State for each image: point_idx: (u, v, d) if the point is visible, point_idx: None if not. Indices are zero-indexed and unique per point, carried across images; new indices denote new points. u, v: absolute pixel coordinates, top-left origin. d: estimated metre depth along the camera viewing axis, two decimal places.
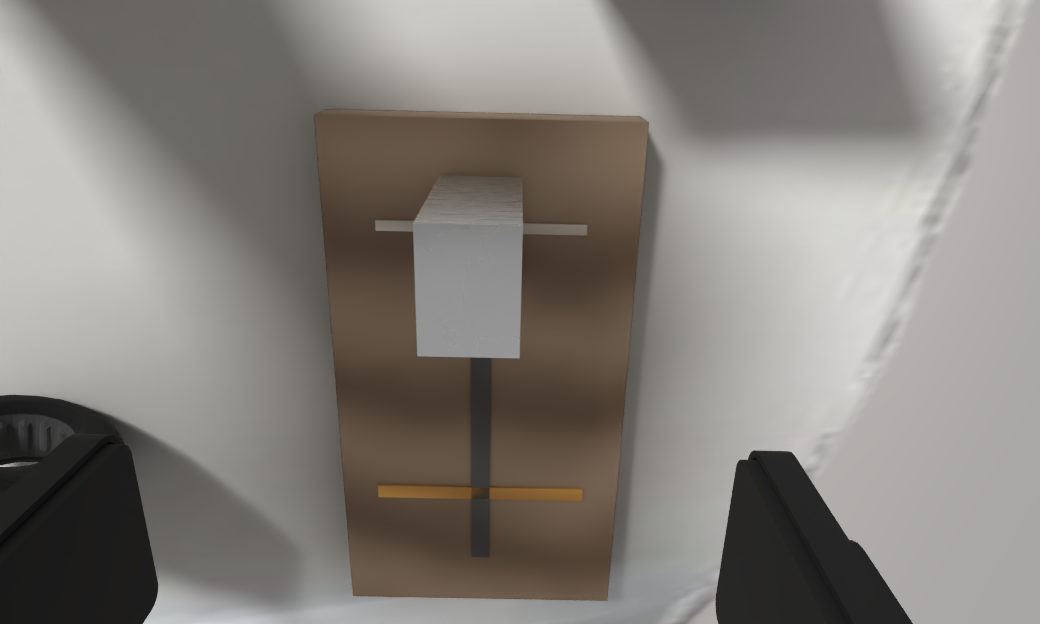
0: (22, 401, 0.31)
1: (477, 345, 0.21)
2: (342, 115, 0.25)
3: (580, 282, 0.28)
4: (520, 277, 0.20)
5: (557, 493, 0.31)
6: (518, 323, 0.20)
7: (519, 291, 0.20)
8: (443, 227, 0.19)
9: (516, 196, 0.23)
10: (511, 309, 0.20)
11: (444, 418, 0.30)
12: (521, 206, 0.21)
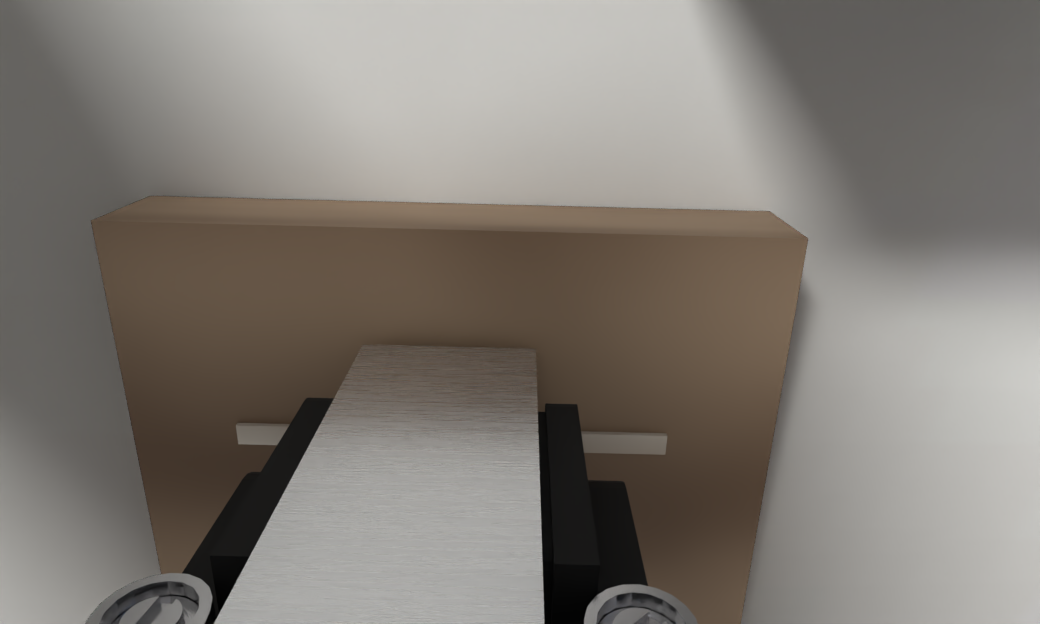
0: None
1: None
2: (153, 222, 0.12)
3: (649, 534, 0.14)
4: None
5: None
6: None
7: None
8: None
9: (524, 453, 0.09)
10: None
11: None
12: (537, 522, 0.08)
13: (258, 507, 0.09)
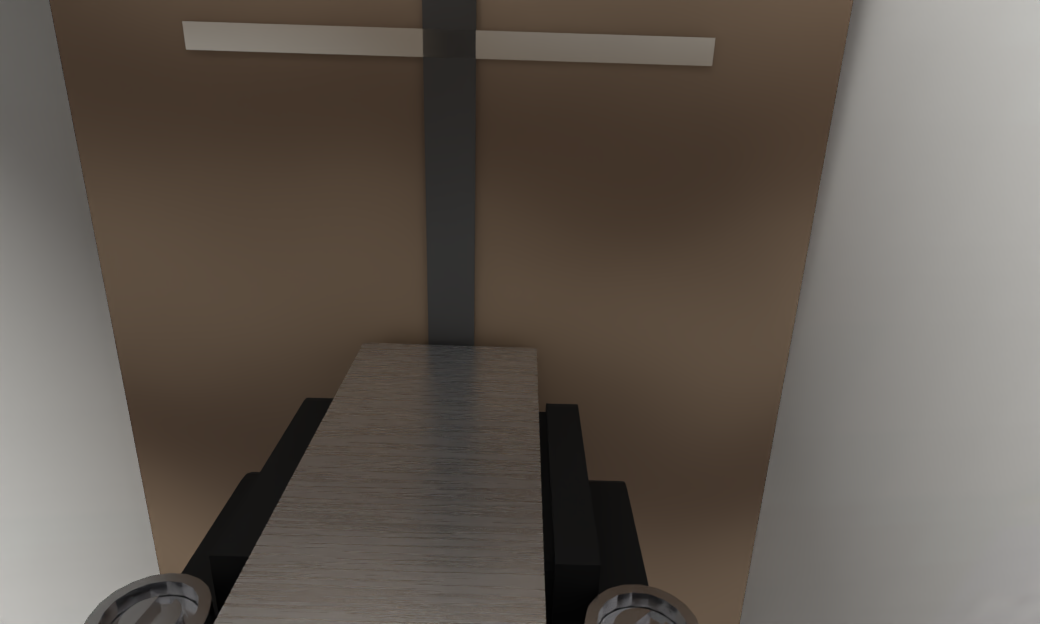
0: None
1: None
2: None
3: (689, 188, 0.12)
4: None
5: None
6: None
7: None
8: None
9: (525, 452, 0.09)
10: None
11: None
12: (539, 521, 0.08)
13: (257, 507, 0.09)
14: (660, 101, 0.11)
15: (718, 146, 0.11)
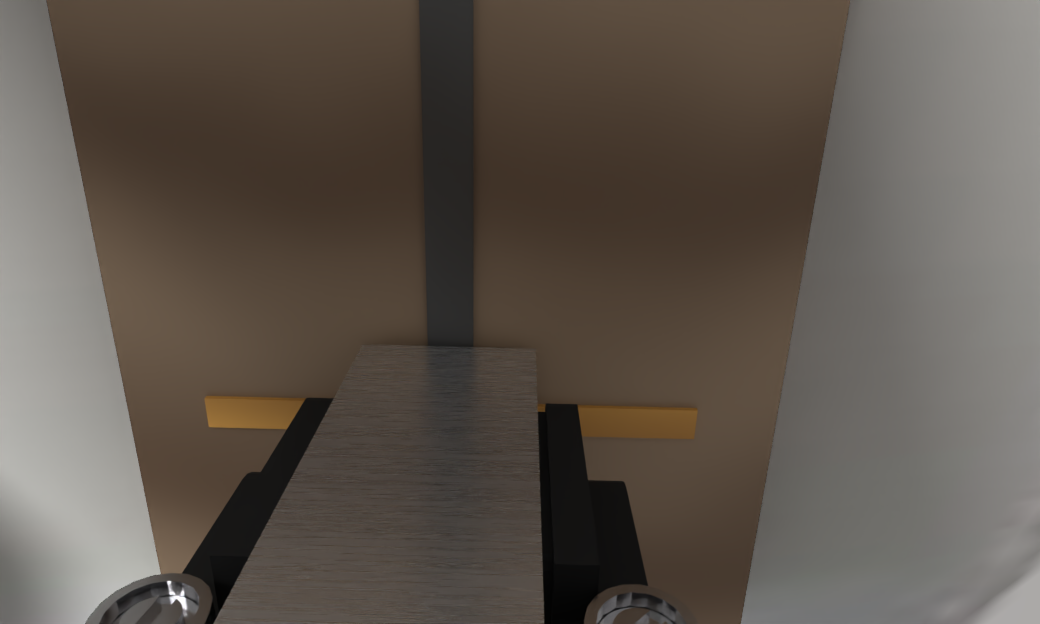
0: None
1: None
2: None
3: None
4: None
5: (635, 420, 0.13)
6: None
7: None
8: None
9: (523, 453, 0.09)
10: None
11: (358, 218, 0.12)
12: (537, 522, 0.08)
13: (258, 507, 0.09)
14: None
15: None
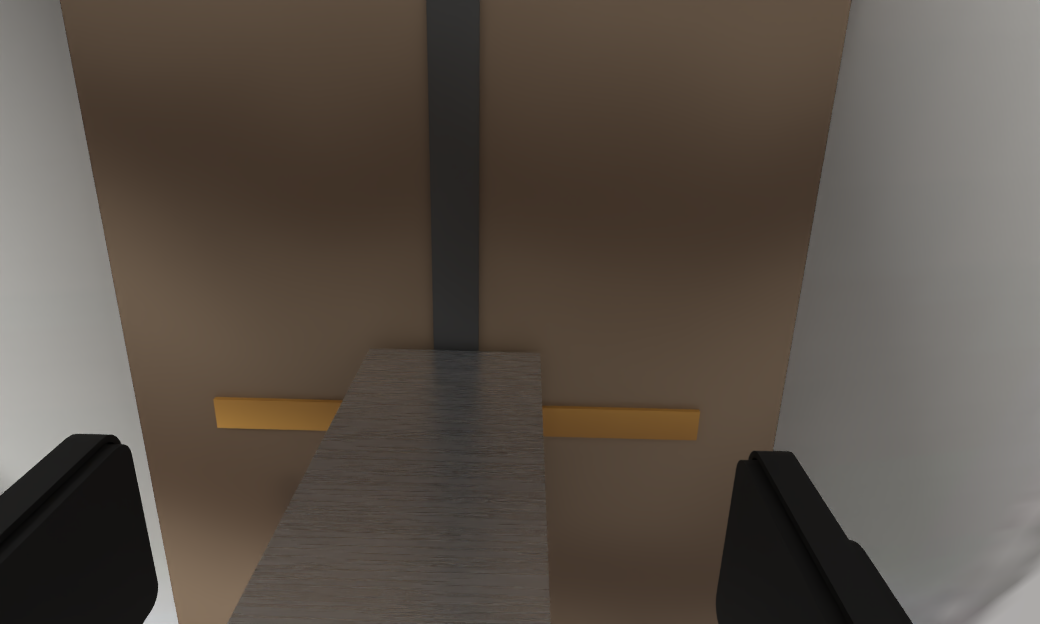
0: None
1: None
2: None
3: None
4: None
5: (638, 422, 0.13)
6: None
7: None
8: None
9: (529, 455, 0.09)
10: None
11: (366, 222, 0.12)
12: (543, 523, 0.08)
13: None
14: None
15: None
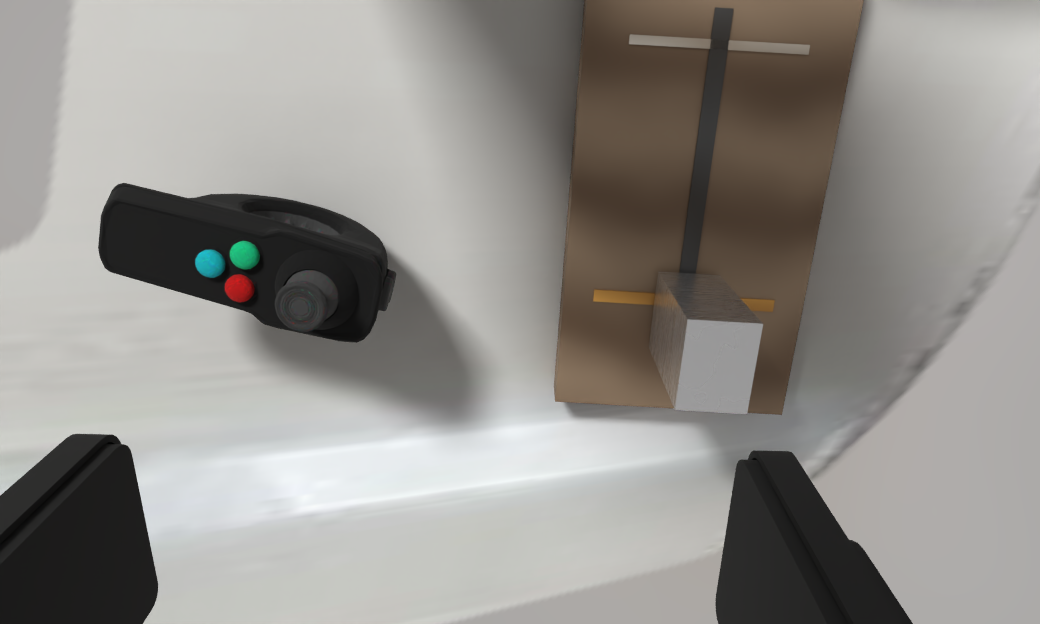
0: (289, 203, 0.35)
1: (718, 404, 0.29)
2: None
3: (797, 98, 0.32)
4: (756, 358, 0.28)
5: (751, 304, 0.35)
6: (750, 389, 0.29)
7: (753, 367, 0.29)
8: (708, 323, 0.28)
9: (733, 295, 0.31)
10: (746, 379, 0.29)
11: (662, 225, 0.34)
12: (745, 305, 0.30)
13: None
14: (789, 66, 0.32)
15: (808, 83, 0.32)
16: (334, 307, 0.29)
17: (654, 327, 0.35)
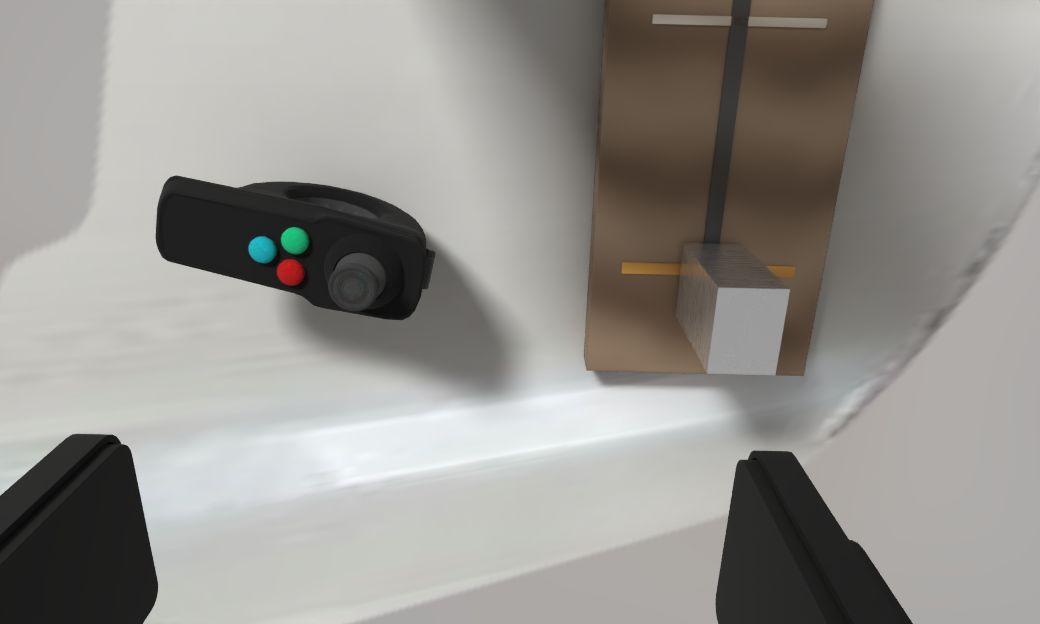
0: (327, 188, 0.36)
1: (748, 366, 0.31)
2: None
3: (815, 71, 0.33)
4: (783, 322, 0.30)
5: (773, 271, 0.37)
6: (778, 352, 0.31)
7: (781, 331, 0.30)
8: (738, 290, 0.30)
9: (758, 263, 0.33)
10: (774, 343, 0.30)
11: (686, 198, 0.36)
12: (771, 272, 0.32)
13: None
14: (807, 40, 0.33)
15: (826, 56, 0.33)
16: (382, 287, 0.30)
17: (681, 296, 0.36)
